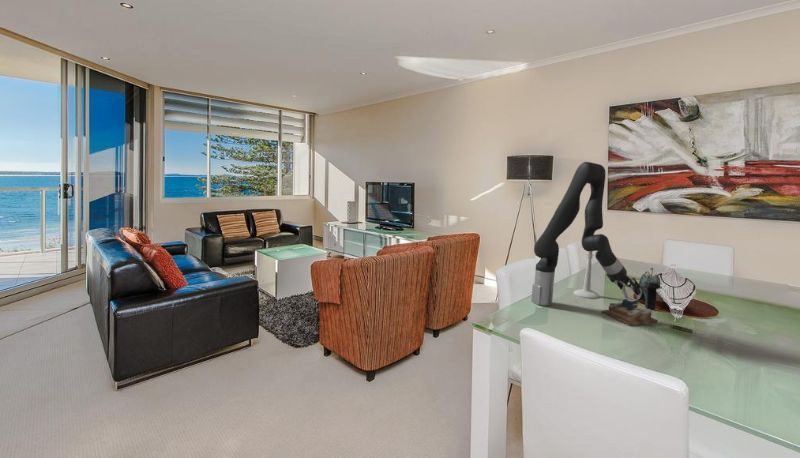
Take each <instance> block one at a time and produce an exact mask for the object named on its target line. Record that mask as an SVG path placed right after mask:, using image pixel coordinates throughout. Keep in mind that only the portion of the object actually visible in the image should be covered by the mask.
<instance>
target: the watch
mask: <svg viewBox="0 0 800 458" xmlns="http://www.w3.org/2000/svg"><path fill="white" fill-rule="evenodd" d="M629 284H630V283H628V284H627V285H629ZM623 285H624V284H623ZM631 286H632V285H631ZM632 287H633V286H632ZM639 290H640V291H641V288H639ZM632 291H633V290H632ZM621 294H622V296H623V298H624V299H622V301H621V302H622V307H626V308H629V309H634V308H638V305H639V300H638V299H640V297H641V295H642V291H641V292H640V294H639V295H636V294H635V292H634V291H633V294H634V295H635V297H636V299H633V298H629V297H628V294H627V290H626V286H625V285H624V286H623V287H622V290H621Z"/></svg>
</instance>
